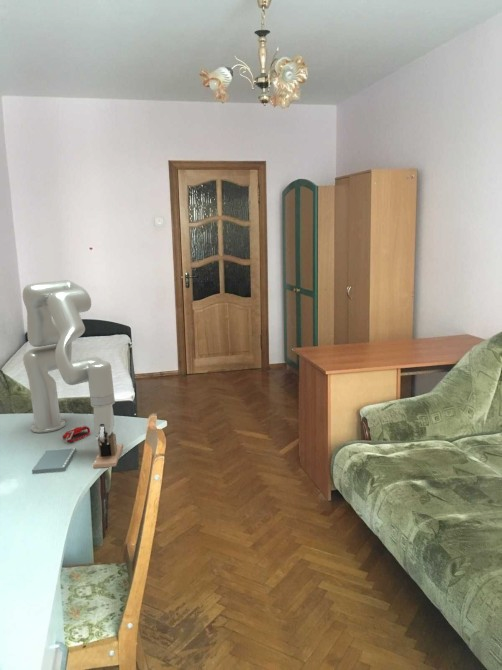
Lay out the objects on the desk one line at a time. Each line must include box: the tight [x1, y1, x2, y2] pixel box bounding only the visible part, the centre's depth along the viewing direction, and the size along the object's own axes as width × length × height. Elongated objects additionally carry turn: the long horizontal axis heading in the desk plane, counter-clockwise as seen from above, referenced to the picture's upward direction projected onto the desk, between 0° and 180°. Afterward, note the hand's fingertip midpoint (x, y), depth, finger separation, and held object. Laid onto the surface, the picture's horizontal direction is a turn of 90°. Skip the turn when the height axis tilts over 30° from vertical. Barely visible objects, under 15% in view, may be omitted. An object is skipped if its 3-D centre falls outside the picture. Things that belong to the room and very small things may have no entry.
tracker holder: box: [62, 425, 91, 443], centre depth 202 cm, size 12×4×10 cm
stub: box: [92, 433, 124, 469], centre depth 181 cm, size 16×7×7 cm, turn 5°
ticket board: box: [31, 447, 77, 475], centre depth 181 cm, size 16×10×1 cm, turn 5°
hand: (108, 451), depth 182 cm, fingers open, 6 cm apart
